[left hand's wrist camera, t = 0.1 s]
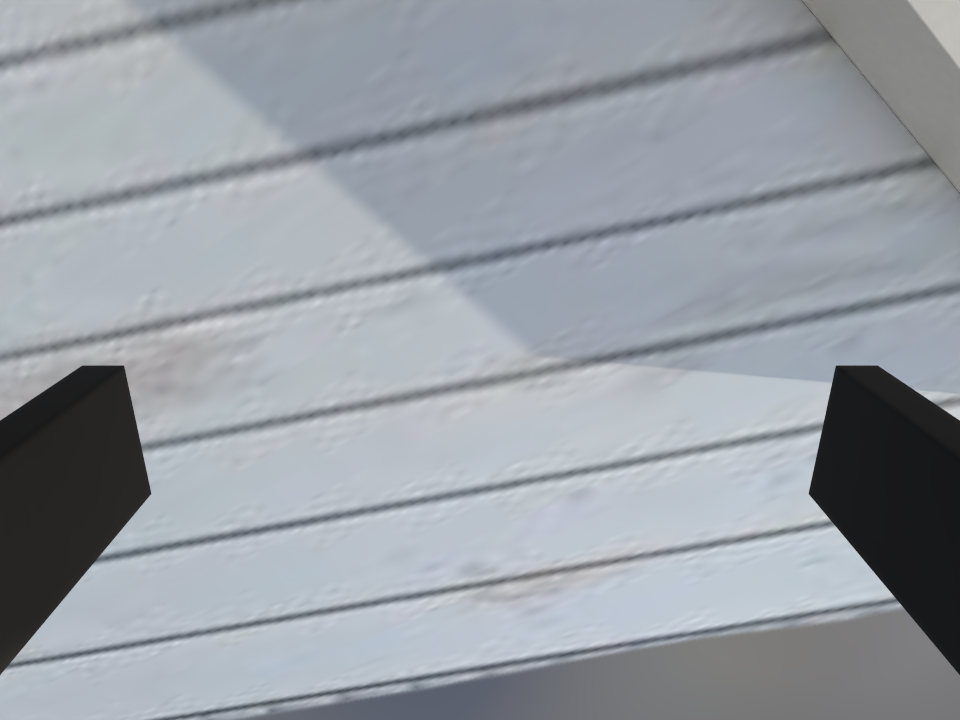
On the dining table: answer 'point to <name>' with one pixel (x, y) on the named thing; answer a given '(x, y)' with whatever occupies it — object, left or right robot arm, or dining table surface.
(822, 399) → the dining table surface
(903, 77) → the beam
